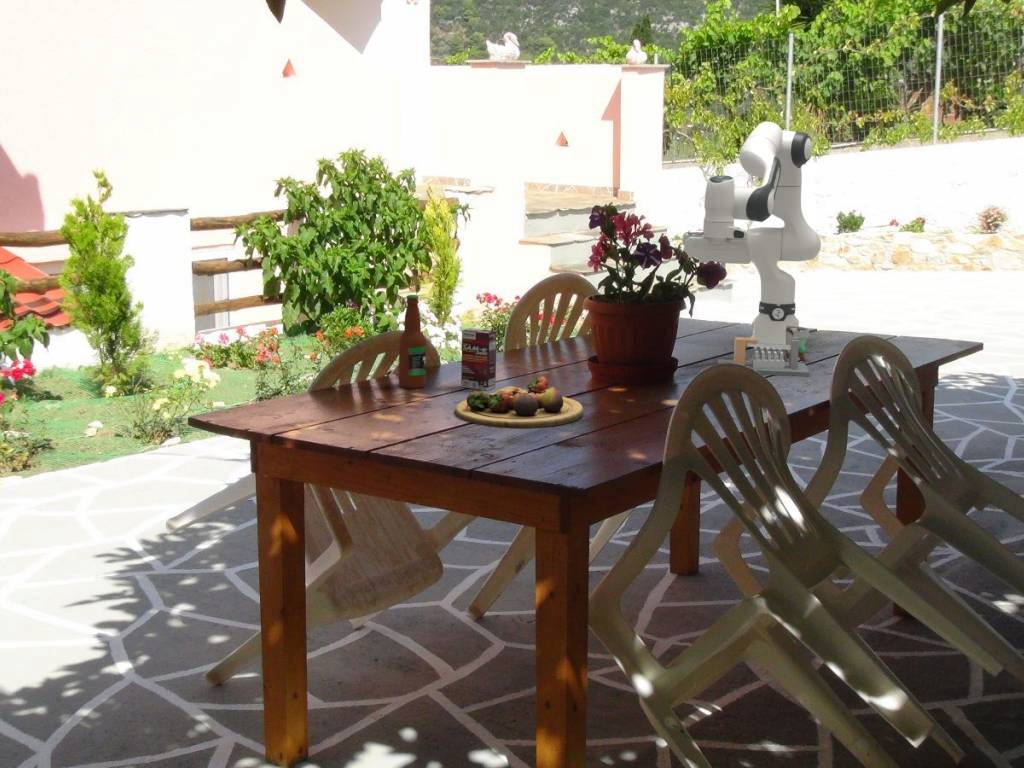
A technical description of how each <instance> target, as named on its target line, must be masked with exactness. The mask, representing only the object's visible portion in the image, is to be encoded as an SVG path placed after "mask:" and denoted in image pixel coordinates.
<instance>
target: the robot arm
mask: <svg viewBox="0 0 1024 768" xmlns="http://www.w3.org/2000/svg"><path fill="white" fill-rule="evenodd" d="M812 153H813V141H812V138H811V137H810V135H809V134H808V133H806V132H804V131H792V130H784V129H783V130H782V128H781V127H780V126H779V125H778V124H777V123H775V122H773V121H763V122H761V123H759V124H758V125H757V126H756V127H755V128H754V129H753V130H752V131H751V132H750V133H749V134H748V135H747V136H746V137H745V139H744V142H743V145H742V146H741V149H740V151H739V156H738V159H739V162H740V165H741V167H742V168H743V170H744V171H745V172H746V173H747V174H749V175H750V176H753V177H756V178H760V179H762V182H761V185H760V186H756V187H750V186H749V187H748V186H736V185H735V179H734V177H732V176H731V175H725V174H724V175H714V176H711V177H710V178H708V180H707V183H706V188H705V193H704V203H703V204H704V205H703V207H704V210H705V211H704V218H703V227H702V229H703V230H696V231H695V230H688V231H686V232H685V233H683V235H682V239H681V241H682V244H683V251H686V252H687V255H688V256H689V257H690V258H692V257H696V258H698V259H699V262H701V263H702V264H705V263H707V262H709V261H715V262H719V263H718V264H720V266H721V265H722V267H723V268H724V269H725V268H726V264H732V265H733V264H737V265H740V264H741V265H742V264H743V265H749V264H751V263H753V265H754V266H755V267H756V269H757V271H758V274H759V278H760V301H759V303H758V312H759V313H758V315H757V316H756V317H755V318H754V320H753V321H752V323H751V329H752V330H751V334H752V335H750V336H749V337H748V338H757V340H758V342H760V343H772V344H784V345H786V326H796V327H800V320H798V318H797V317H796V315H795V314H796V309H797V307H796V302H795V295H796V280H795V278H794V276H792V274H790V273H788V272H787V271H785V270H783V269H780V267H778V262H804V261H812V260H814V259H815V258H816V257H818V255H819V253H820V252H821V246H822V242H821V238H820V236H819V234H818V233H817V231H816V230H814V229H813V228H812V227H811V226H810V225H809V224H808V222H807V221H806V219H805V216H804V215H803V211H802V186H803V185H802V180H803V177H802V167H803V165H806V164H807V163H808V162H809V160H810V158H811V156H812ZM772 215H773V216H774V217H776V218H778V219H780V220H782V222H783V223H784V226H782V227H771V226H770V227H769V226H767V227H766V226H765V227H764V226H760V227H755V228H748V229H747V230H745V229H742V228H740V227H738V226H735V224H734V223H735V220H741V221H742V220H744V221H752V222H758V223H759V222H760V223H763V222H765V221H766V220H768V219H769V218H770V217H771V216H772ZM699 262H697V263H699ZM707 264H708V263H707ZM722 267H721V268H722Z"/></svg>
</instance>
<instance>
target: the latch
mask: <svg viewBox="0 0 1024 768" xmlns="http://www.w3.org/2000/svg"><path fill="white" fill-rule="evenodd" d="M747 343H758V340H757V338H749V337H748V336H747V337H745V336H734V344H733V345H734V347H733V360H734V363H739V364H743V365H745V360H746V348H747V347H746V346H747V345H746V344H747Z"/></svg>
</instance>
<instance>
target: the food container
mask: <svg viewBox="0 0 1024 768" xmlns="http://www.w3.org/2000/svg"><path fill="white" fill-rule="evenodd" d="M809 337H810V331H809V329H808V328H806V327H804V326H803V327H802V326H799V327H796V326H786V345H790V340H791V338H798V340H799V351H798V362H800V361H804V362H805V357H806V349H807V343H808V342H807V341H808V338H809ZM784 350H785V349H784ZM789 356H790V350H785V353H784V357H786V358H787V359H789ZM786 358H785V359H786ZM787 359H786V360H787ZM800 363H801V362H800Z"/></svg>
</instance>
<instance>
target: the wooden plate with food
mask: <svg viewBox="0 0 1024 768" xmlns="http://www.w3.org/2000/svg"><path fill="white" fill-rule="evenodd" d="M525 386H526V389H523V388H520V387H515V386H505V387H504V388H500V389H498V390H497V391H495V392H492V393H486V392H484V391H485V390H484V389H482V390H481V389H480V390H479V391H478V390H474V391H473V392H470V393H469V394H468V395H467V397H466V399H465V400H463V401H459V403H458V404H457V405H455V406H456V407H455V415H456V416H457V417H458V418H460V419H462V420H463V421H466V422H469V423H472V424H477V425H483V426H489V427H496V428H508V429H510V428H512V429H536V428H537V429H538V428H548V427H556V426H562V425H566V424H569V423H572V422H575V421H577V420H579V419H580V418H581V417H582V416H583V414H584V407H583V405H582V403H580V402H579V401H577V400H575V399H573V398H569V397H566V396H562V394H561V392H560V391H559V389H556V388H555V387H554V386H552V387H549V382H548V379H547V378H546V377H545V376H538V377H536V379H535V380H534V379H531V381H529V384H528V385H527V384H526V385H525Z"/></svg>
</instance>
